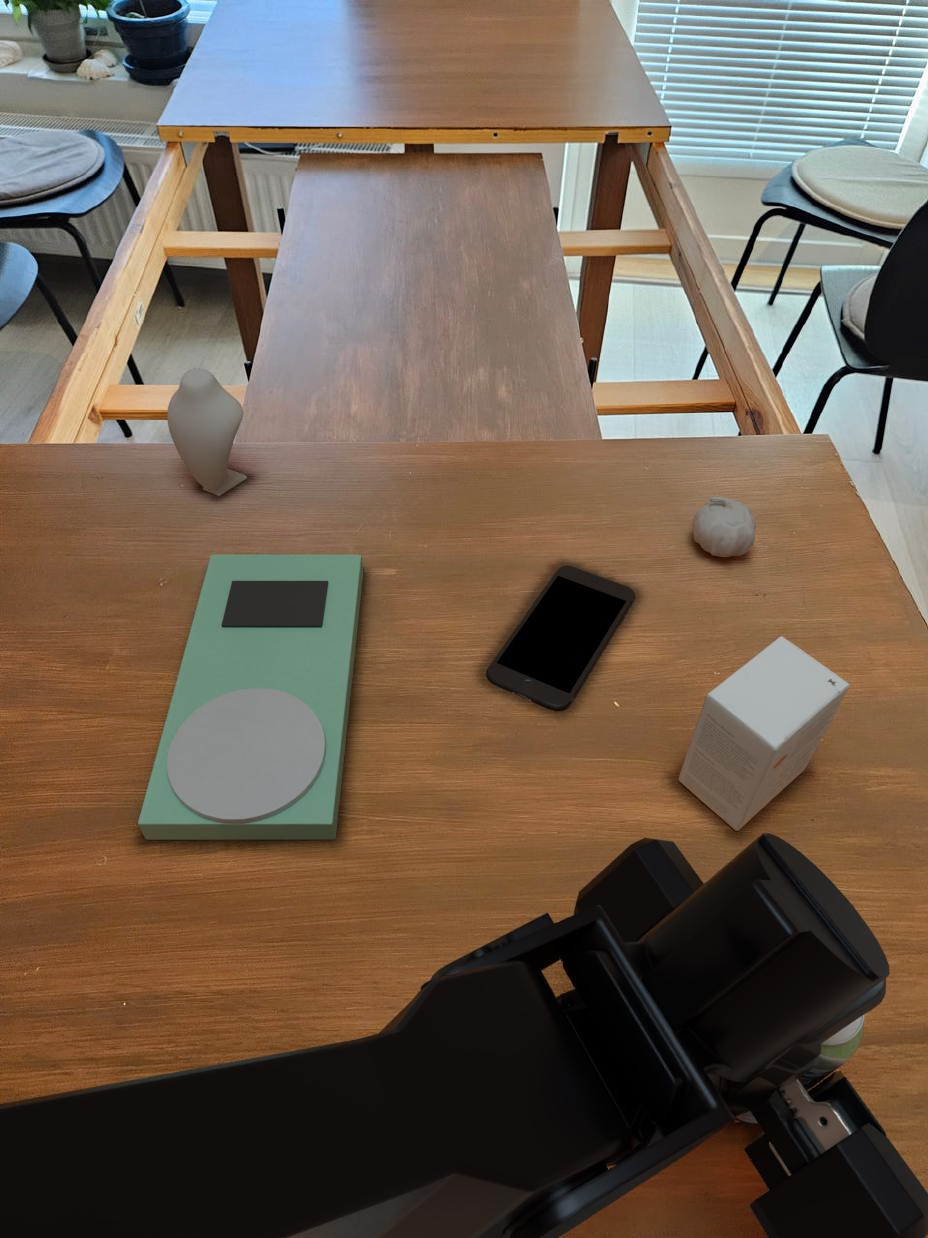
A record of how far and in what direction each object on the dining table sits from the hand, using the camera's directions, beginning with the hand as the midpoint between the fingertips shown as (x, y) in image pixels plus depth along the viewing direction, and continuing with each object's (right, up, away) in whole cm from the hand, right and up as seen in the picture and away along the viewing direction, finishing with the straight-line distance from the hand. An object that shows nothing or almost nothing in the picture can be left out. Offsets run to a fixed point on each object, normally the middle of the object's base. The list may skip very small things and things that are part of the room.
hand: (794, 1023), depth 47 cm
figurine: (-41, +34, +40) cm, 67 cm away
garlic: (+6, +28, +34) cm, 44 cm away
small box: (+3, +10, +18) cm, 21 cm away
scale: (-33, +16, +23) cm, 43 cm away
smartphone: (-9, +20, +27) cm, 35 cm away
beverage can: (-1, -5, +5) cm, 7 cm away
